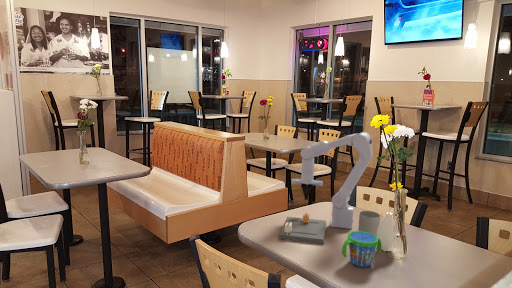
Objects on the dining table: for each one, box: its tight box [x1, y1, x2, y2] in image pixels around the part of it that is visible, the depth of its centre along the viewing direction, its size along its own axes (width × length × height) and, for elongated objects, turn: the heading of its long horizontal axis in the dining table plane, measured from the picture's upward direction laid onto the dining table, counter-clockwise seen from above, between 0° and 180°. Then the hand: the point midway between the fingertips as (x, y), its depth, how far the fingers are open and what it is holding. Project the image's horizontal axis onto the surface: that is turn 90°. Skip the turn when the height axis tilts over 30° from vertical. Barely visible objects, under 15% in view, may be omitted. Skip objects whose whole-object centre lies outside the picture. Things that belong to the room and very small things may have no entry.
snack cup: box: [341, 230, 383, 268], centre depth 129 cm, size 16×10×10 cm
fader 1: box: [285, 222, 292, 233], centre depth 151 cm, size 2×4×3 cm, turn 166°
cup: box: [357, 210, 381, 236], centre depth 152 cm, size 8×8×10 cm
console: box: [279, 216, 327, 245], centre depth 157 cm, size 18×21×2 cm
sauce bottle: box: [377, 206, 396, 252], centre depth 139 cm, size 8×8×18 cm
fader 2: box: [302, 212, 310, 223], centre depth 162 cm, size 2×4×3 cm, turn 166°
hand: (306, 199), depth 171 cm, fingers closed
